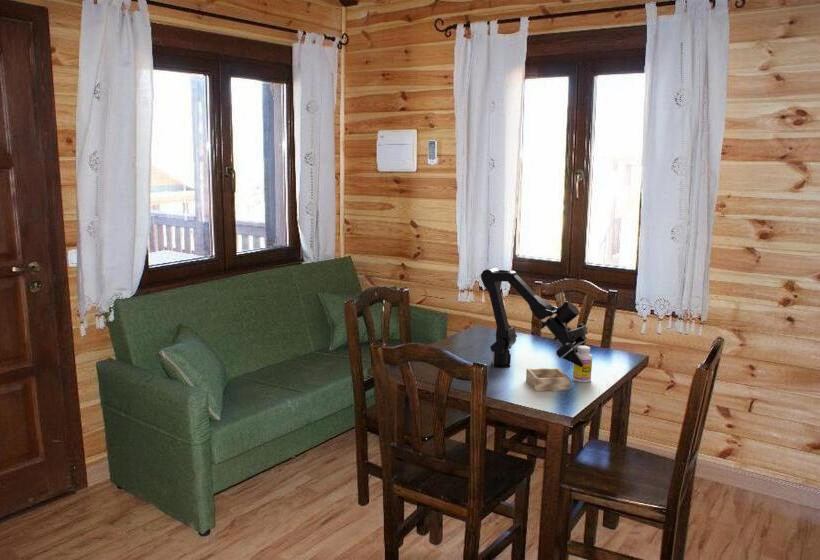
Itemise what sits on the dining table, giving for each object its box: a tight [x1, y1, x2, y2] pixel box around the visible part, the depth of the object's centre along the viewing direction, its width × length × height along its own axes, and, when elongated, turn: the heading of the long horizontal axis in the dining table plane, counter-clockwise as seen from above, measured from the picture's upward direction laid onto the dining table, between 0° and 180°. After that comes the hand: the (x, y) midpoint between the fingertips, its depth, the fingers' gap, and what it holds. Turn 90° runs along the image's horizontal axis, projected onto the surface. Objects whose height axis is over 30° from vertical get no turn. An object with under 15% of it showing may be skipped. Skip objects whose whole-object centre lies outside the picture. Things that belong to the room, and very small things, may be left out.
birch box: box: [525, 367, 571, 392], centre depth 256 cm, size 12×12×5 cm
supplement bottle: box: [572, 345, 593, 383], centre depth 262 cm, size 7×7×13 cm
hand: (586, 363), depth 261 cm, fingers open, 8 cm apart
